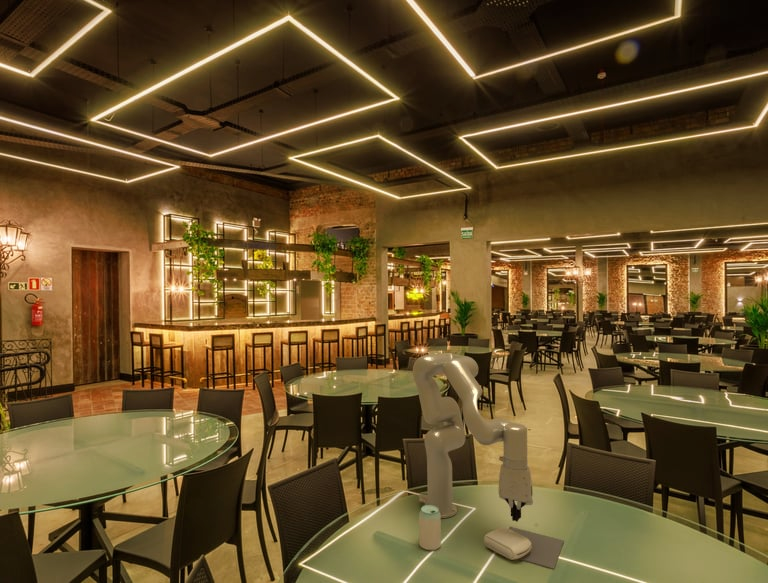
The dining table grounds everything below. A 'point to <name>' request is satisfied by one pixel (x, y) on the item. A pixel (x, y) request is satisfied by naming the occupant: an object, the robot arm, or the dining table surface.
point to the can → (429, 527)
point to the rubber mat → (541, 549)
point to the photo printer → (507, 543)
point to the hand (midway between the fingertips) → (516, 519)
